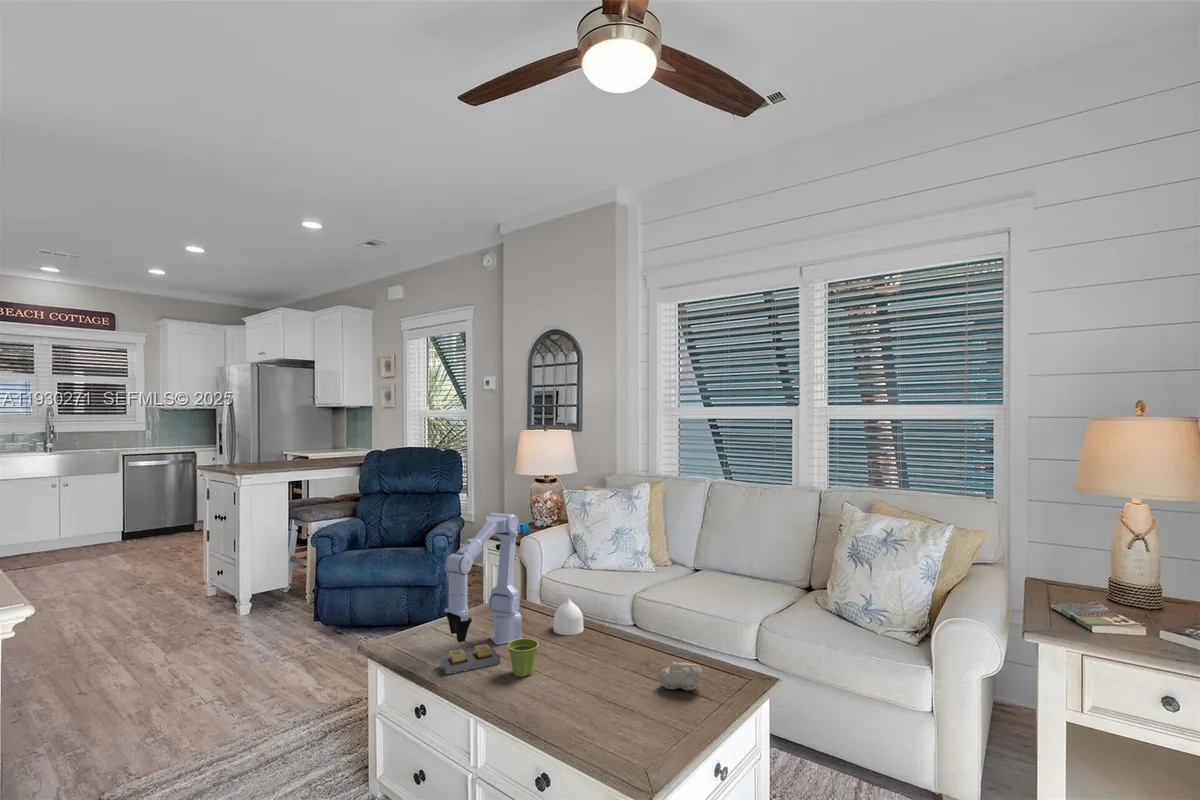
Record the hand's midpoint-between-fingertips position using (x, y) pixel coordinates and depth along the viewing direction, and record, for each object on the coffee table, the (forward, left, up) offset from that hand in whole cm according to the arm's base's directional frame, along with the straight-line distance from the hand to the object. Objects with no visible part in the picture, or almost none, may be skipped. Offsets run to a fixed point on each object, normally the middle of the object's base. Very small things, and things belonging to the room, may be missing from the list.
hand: (457, 637), depth 186 cm
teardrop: (-44, -13, -10) cm, 47 cm away
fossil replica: (-52, +44, -10) cm, 69 cm away
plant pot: (-16, +13, -10) cm, 23 cm away
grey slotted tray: (-4, 0, -9) cm, 10 cm away
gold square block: (0, 0, -10) cm, 10 cm away
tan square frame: (-8, 0, -10) cm, 12 cm away
